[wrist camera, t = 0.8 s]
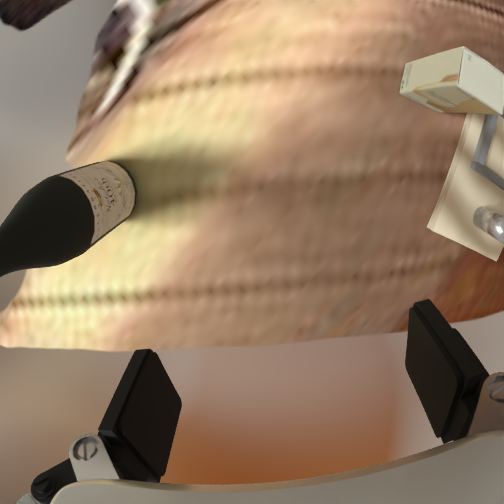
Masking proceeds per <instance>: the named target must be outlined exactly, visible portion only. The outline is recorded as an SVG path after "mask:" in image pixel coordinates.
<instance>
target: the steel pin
mask: <svg viewBox="0 0 504 504" xmlns="http://www.w3.org/2000/svg"><path fill="white" fill-rule="evenodd" d="M473 223H474V225H475V226H476V227H477V228H479V229H480V230H482V231H484V232H485V233H487V234H489V235H490V236H492V237H493V238H495V239H497V240H498V241H500V242H501V243H503V244H504V216H502V215H500V214H498V213H496V212H494V211H492V210H490V209H488V208H486V207H484V206H481V207H479V208H477V209H476V211H475V213H474V215H473Z"/></svg>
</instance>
